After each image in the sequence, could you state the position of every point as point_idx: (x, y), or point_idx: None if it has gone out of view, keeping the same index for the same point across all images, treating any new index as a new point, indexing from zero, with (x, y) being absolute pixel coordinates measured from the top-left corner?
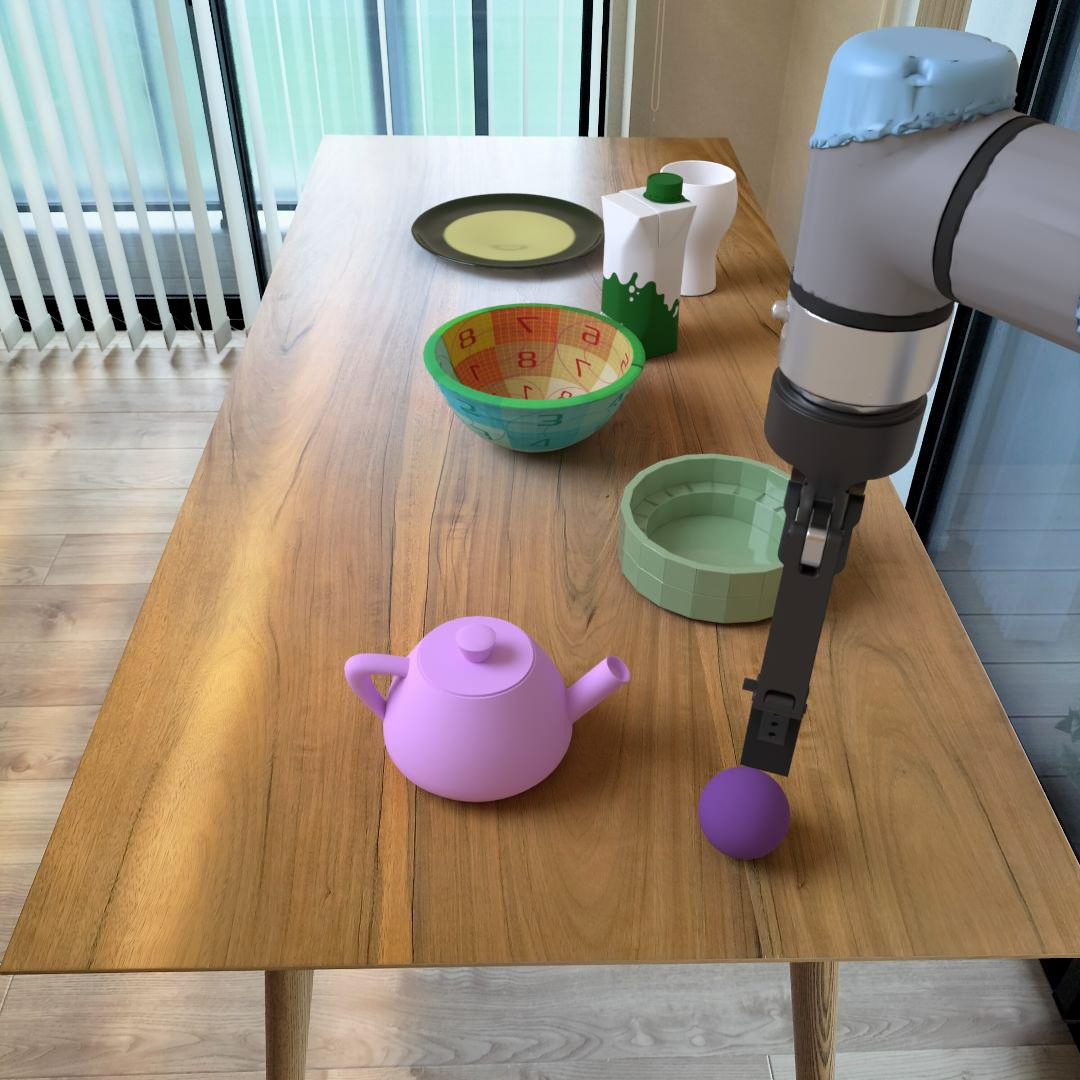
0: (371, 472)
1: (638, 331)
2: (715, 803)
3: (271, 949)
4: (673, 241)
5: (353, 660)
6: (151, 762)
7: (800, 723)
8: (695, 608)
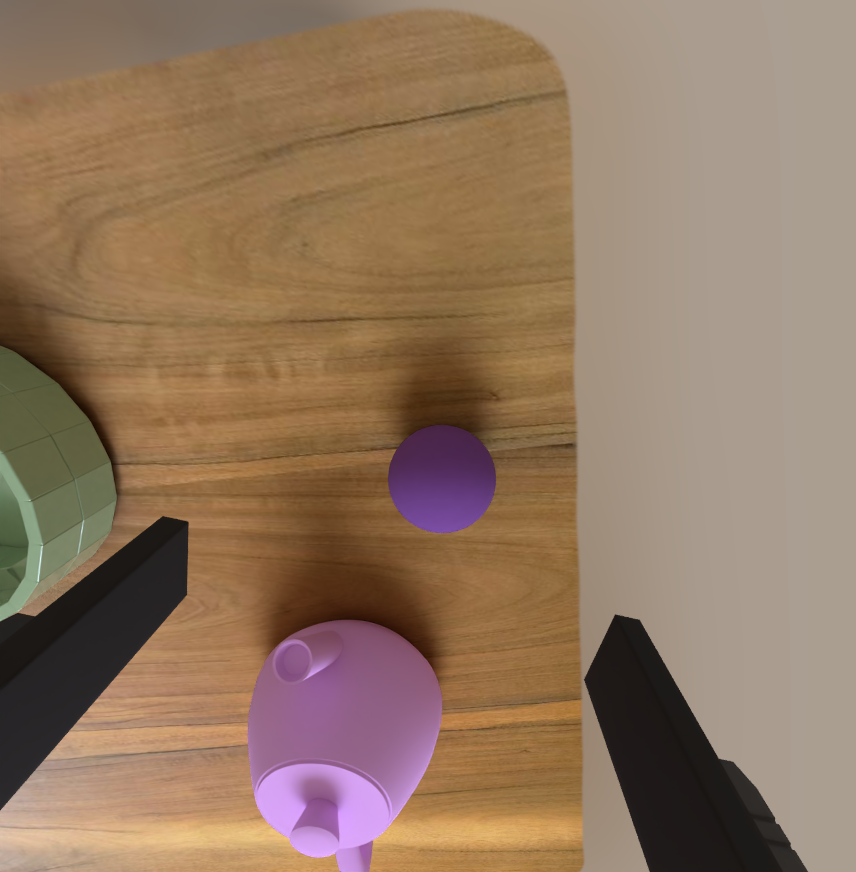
0: None
1: None
2: (459, 529)
3: (574, 773)
4: None
5: None
6: (419, 853)
7: (734, 786)
8: (102, 503)
